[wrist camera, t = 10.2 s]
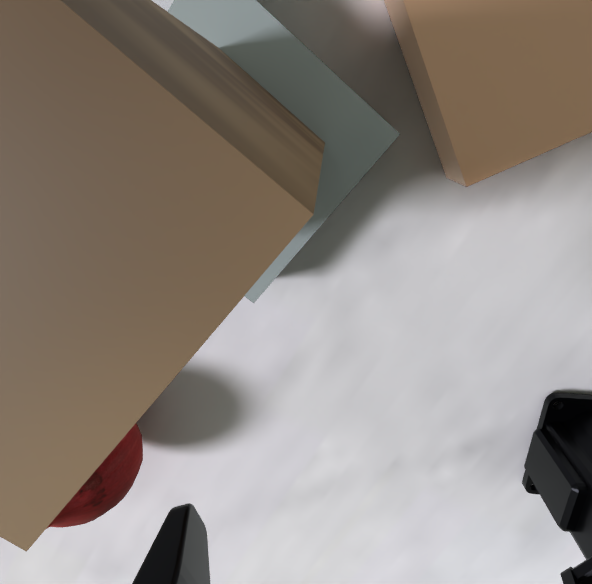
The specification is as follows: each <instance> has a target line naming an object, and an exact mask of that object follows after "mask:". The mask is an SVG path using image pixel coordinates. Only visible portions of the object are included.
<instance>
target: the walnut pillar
mask: <svg viewBox="0 0 592 584" xmlns="http://www.w3.org/2000/svg"><path fill="white" fill-rule="evenodd" d="M324 146H325V142H324V141H323V140H322V139H320V138H319V137H318V136H317V135H316V134H315V133H314V132H313V131H311V130H310V129H309V128H308V127H307V126H306V125H305V124H304V123H302V122H301V121H300V120H299V119H298V118H297V117H296V116H295V115H294V114H292V113H291V112H290V111H289V110H288V109H287V108H286V107H285V106H283V105H282V104H281V103H280V102H279V101H278V100H277V99H276V98H274V97H273V96H272V95H271V94H270V93H269V92H268V91H267V90H265V89H264V88H263V87H262V86H261V85H260V84H259V83H258V82H256V81H255V80H254V79H253V78H252V77H251V76H250V75H249V74H248V73H246V72H245V71H244V70H243V69H242V68H241V67H240V66H239V65H237V64H236V63H235V62H234V61H233V60H232V59H231V58H230V57H228V56H227V55H226V54H225V53H224V52H223V51H222V50H221V49H219V48H218V47H217V46H215V45H214V44H213V43H211V42H210V41H208V40H207V39H205V38H204V37H203V36H201V35H200V34H198V33H197V32H195V31H194V30H193V29H191V28H190V27H188V26H187V25H186V24H184V23H183V22H181V21H180V20H178V19H177V18H176V17H174V16H173V15H171V14H170V13H168V12H167V11H166V10H164V9H163V8H161V7H160V6H158V5H157V4H156V3H154V2H153V1H151V0H0V537H2V538H4V539H5V540H7V541H9V542H11V543H12V544H14V545H16V546H18V547H19V548H21V549H23V550H25V551H27V550H28V549H29V548H30V547H31V546H32V544H33V543H34V542H35V541H36V540H37V539H38V537H39V536H40V535H41V534H42V533H43V532H44V530H45V529H46V528H47V527H48V526H49V524H50V523H51V522H52V521H53V520H54V519H55V517H56V516H57V515H58V514H59V513H60V512H61V510H62V509H63V508H64V507H65V506H66V505H67V503H68V502H69V501H70V500H71V499H72V497H73V496H74V495H75V494H76V493H77V492H78V490H79V489H80V488H81V487H82V486H83V485H84V483H85V482H86V481H87V480H88V479H89V478H90V476H91V475H92V474H93V473H94V472H95V470H96V469H97V468H98V467H99V466H100V465H101V463H102V462H103V461H104V460H105V459H106V458H107V456H108V455H109V454H110V453H111V452H112V451H113V449H114V448H115V447H116V446H117V445H118V443H119V442H120V441H121V440H122V439H123V438H124V436H125V435H126V434H127V433H128V432H129V431H130V429H131V428H132V427H133V426H134V425H135V424H136V422H137V421H138V420H139V419H140V418H141V416H142V415H143V414H144V413H145V412H146V411H147V409H148V408H149V407H150V406H151V405H152V404H153V402H154V401H155V400H156V399H157V398H158V397H159V395H160V394H161V393H162V392H163V391H164V389H165V388H166V387H167V386H168V385H169V384H170V382H171V381H172V380H173V379H174V378H175V377H176V375H177V374H178V373H179V372H180V371H181V370H182V368H183V367H184V366H185V365H186V364H187V362H188V361H189V360H190V359H191V358H192V357H193V355H194V354H195V353H196V352H197V351H198V350H199V348H200V347H201V346H202V345H203V344H204V343H205V341H206V340H207V339H208V338H209V337H210V335H211V334H212V333H213V332H214V331H215V330H216V328H217V327H218V326H219V325H220V324H221V323H222V321H223V320H224V319H225V318H226V317H227V315H228V314H229V313H230V312H231V311H232V310H233V308H234V307H235V306H236V305H237V304H238V303H239V301H240V300H241V299H242V298H243V297H244V296H245V294H246V293H247V292H248V291H249V290H250V288H251V287H252V286H253V285H254V284H255V283H256V281H257V280H258V279H259V278H260V277H261V276H262V274H263V273H264V272H265V271H266V270H267V269H268V267H269V266H270V265H271V264H272V263H273V261H274V260H275V259H276V258H277V257H278V256H279V254H280V253H281V252H282V251H283V250H284V249H285V247H286V246H287V245H288V244H289V243H290V242H291V240H292V239H293V238H294V237H295V236H296V234H297V233H298V232H299V231H300V230H301V229H302V227H303V226H304V225H305V224H306V223H307V222H308V220H309V219H310V218H311V217H312V216H313V215H314V209H315V203H316V196H317V190H318V184H319V177H320V171H321V165H322V158H323V152H324Z"/></svg>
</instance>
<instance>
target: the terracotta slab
mask: <svg viewBox="0 0 592 584" xmlns="http://www.w3.org/2000/svg"><path fill="white" fill-rule="evenodd" d="M384 2H385V5H386V8H387V10H388V13H389V16H390V19H391V22H392V25H393V27H394V30H395V33H396V36H397V39H398V42H399V44H400V47H401V50H402V53H403V56H404V59H405V62H406V64H407V67H408V70H409V73H410V76H411V79H412V81H413V84H414V87H415V90H416V93H417V96H418V99H419V101H420V104H421V107H422V110H423V113H424V116H425V118H426V121H427V124H428V127H429V130H430V133H431V135H432V138H433V141H434V144H435V147H436V150H437V153H438V155H439V158H440V161H441V164H442V167H443V170H444V172H445V175H446V178H448V179H450V180H452V181H454V182H457V183H459V184H461V185H463V186H465V187H468V186H470V185H472V184H474V183H477V182H479V181H481V180H483V179H486V178H488V177H490V176H493V175H495V174H497V173H499V172H502V171H504V170H506V169H508V168H511V167H513V166H515V165H518V164H520V163H522V162H524V161H527V160H529V159H531V158H534V157H536V156H538V155H540V154H543V153H545V152H547V151H549V150H552V149H554V148H556V147H559V146H561V145H563V144H565V143H568V142H570V141H572V140H574V139H577V138H579V137H581V136H584V135H586V134H588V133H590V132H592V0H384Z"/></svg>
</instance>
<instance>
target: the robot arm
mask: <svg viewBox="0 0 592 584" xmlns="http://www.w3.org/2000/svg"><path fill="white" fill-rule="evenodd" d="M556 402H559V403H558V404H556V405H554V403H556ZM525 469H526V470H525V473H524V477H523V481H522V484H523V486H524V488H525V489H526V491H527V492H528V493H531V494H540V495H541V497H542V499H543V501H544V502H545V504H546V506H547V508H548V509H549V511H550V513H551V515H552V516H553V518H554V520H555V521H556V523H557V525H558V526H559V527H560V528H561V529H562V530H563V531H569V532H570V533H571V535H572V536H573V538H574V540H575V541H576V543H577V545H578V546H579V548H580V550H581V551H582V553H583V555H584V556H585V558H586V560H585V561H584V562H582V563H581V564H579V565H578V566H576V567H574V568H572V567H570V568H568V569H566V570H565V571H563V572H562V573H561V577H562V580H563V584H592V395H583V394H566V393H553V394H550V395H549V396H547V397H546V399H545V401H544V405H543V408H542V412H541V416H540V419H539V423H538V426H537V429H536V430H535V431H534V433H533V437H532V440H531V444H530V448H529V451H528V455H527V459H526V462H525ZM532 484H533V485H532ZM132 584H210V572H209V557H208V542H207V532H206V528H205V525H204V523H203V521H202V519H201V518H200V516H199V514H198V513H197V511H196V509H195V507H194V506H193V505H192V504H190V503H189V504H185V505H181V506H177V507H174V508H172V509H171V510H170V512H169V513H168V515H167V517H166V519H165V521H164V523H163V525H162V527H161V529H160V531H159V533H158V535H157V537H156V539H155V540H154V542H153V544H152V546H151V548H150V550H149V552H148V554H147V556H146V558H145V560H144V562H143V564H142V566H141V568H140V570H139V572H138V574H137V576H136V577H135V579H134V581H133V583H132Z"/></svg>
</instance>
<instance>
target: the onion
mask: <svg viewBox="0 0 592 584" xmlns="http://www.w3.org/2000/svg"><path fill="white" fill-rule="evenodd" d="M142 461H143V446H142V435H141V433H140V430H139V428H138V426H137V423H136V424H135V425H134V426H133V427H132V428H131V429H130V431H129V432H128V433H127V434H126V435H125V436H124V438H123V439H122V440H121V441H120V442H119V443H118V445H117V446H116V447H115V448H114V449H113V451H112V452H111V453H110V454H109V455H108V456H107V458H106V459H105V460H104V461H103V462H102V463H101V465H100V466H99V467H98V468H97V469H96V470H95V472H94V473H93V474H92V475H91V476H90V478H89V479H88V480H87V481H86V482H85V483H84V485H83V486H82V487H81V488H80V489H79V490H78V492H77V493H76V494H75V495H74V496H73V497H72V499H71V500H70V501H69V502H68V503H67V505H66V506H65V507H64V508H63V509H62V510H61V512H60V513H59V514H58V515H57V516H56V517H55V519H54V520H53V521H52V522H51V523H50V524H49V526H48V527H69V526H76V525H80V524H85V523H88V522H90V521H93V520H95V519H96V518H98V517H100V516H101V515H103V514H104V513H106V512H107V511H109V510H110V509H112V508H113V507H114V506H116V505H117V504H118V503H119V502H120V501H121V500H122V499H123V498H124V497H125V495H126V494H127V493H128V491H129V490H130V488H131V487H132V485H133V483H134V481H135V479H136V476H137V474H138V472H139V469H140V466H141V463H142ZM48 527H47V528H48ZM47 528H46V529H47Z"/></svg>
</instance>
